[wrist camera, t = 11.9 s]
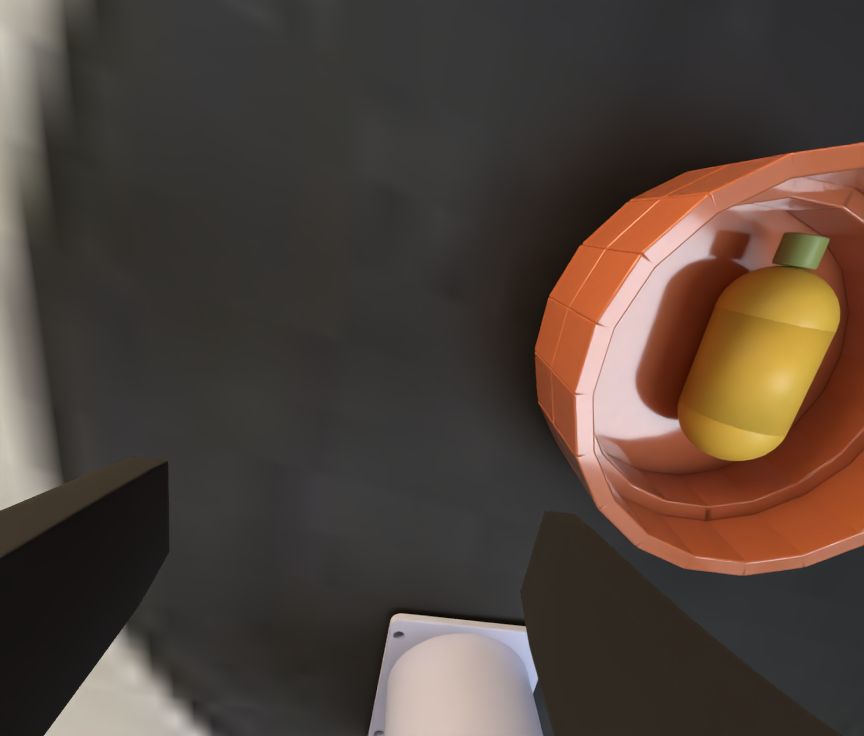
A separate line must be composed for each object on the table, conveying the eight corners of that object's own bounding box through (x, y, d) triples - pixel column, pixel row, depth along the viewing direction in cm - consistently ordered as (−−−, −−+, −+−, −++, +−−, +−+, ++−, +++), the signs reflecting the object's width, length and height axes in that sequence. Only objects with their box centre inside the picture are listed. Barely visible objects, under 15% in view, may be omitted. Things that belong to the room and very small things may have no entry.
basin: (776, 506, 20) (887, 594, 15) (498, 468, 19) (526, 550, 14) (927, 205, 16) (1141, 200, 11) (585, 132, 15) (664, 91, 10)
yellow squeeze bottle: (702, 431, 19) (787, 476, 16) (645, 433, 17) (727, 483, 14) (781, 238, 16) (900, 249, 13) (722, 222, 15) (841, 230, 12)
